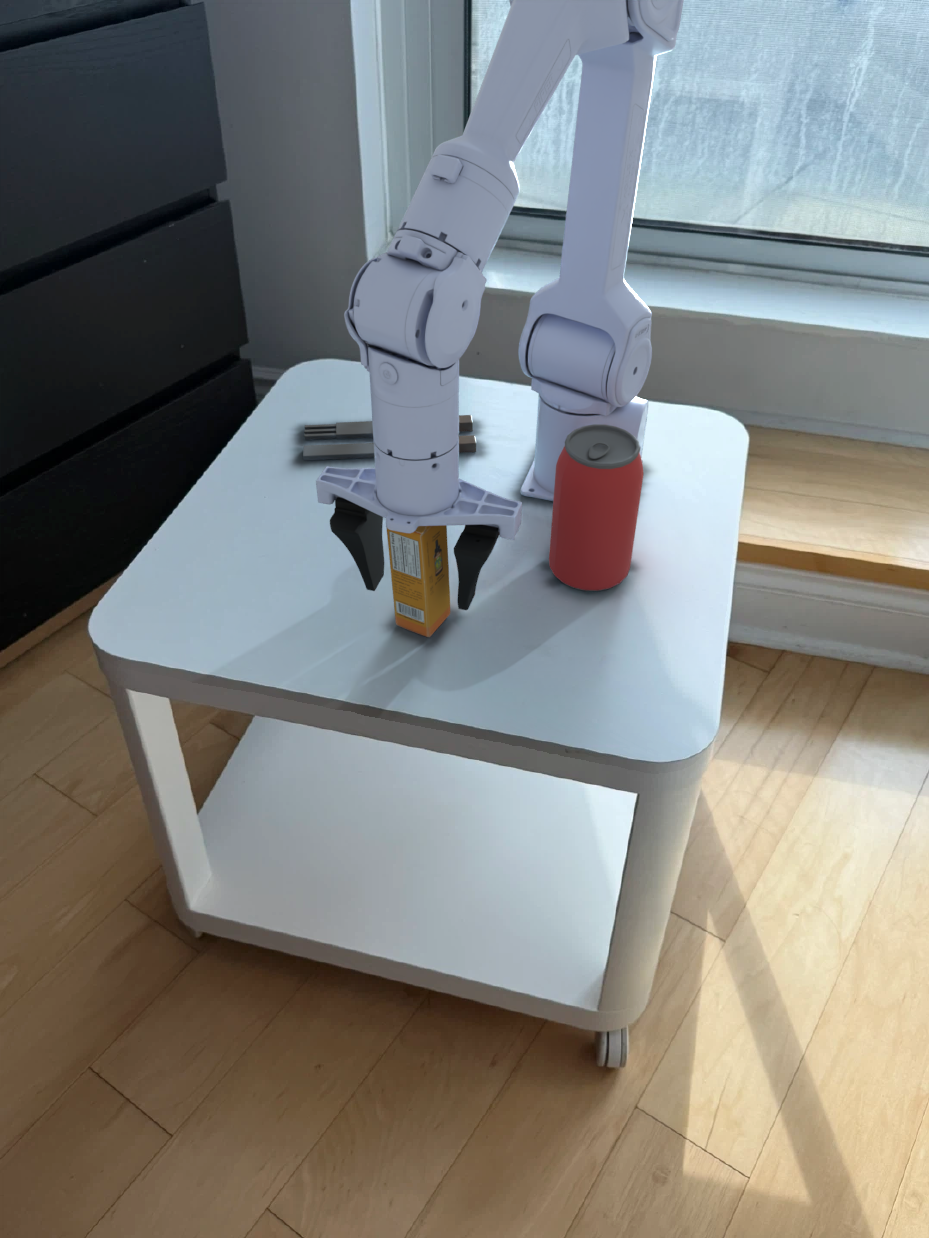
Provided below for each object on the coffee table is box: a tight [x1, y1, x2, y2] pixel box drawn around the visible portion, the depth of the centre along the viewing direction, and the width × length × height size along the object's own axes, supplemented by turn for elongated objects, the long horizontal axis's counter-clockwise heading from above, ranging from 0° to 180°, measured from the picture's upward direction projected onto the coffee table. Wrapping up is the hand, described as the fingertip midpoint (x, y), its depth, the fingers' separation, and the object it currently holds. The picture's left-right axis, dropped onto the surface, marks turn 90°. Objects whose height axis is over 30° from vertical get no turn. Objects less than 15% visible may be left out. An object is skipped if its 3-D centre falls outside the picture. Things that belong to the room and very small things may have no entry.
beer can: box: [548, 424, 645, 592], centre depth 83 cm, size 7×7×12 cm
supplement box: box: [385, 525, 451, 638], centre depth 79 cm, size 3×3×10 cm
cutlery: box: [302, 414, 477, 461], centre depth 101 cm, size 16×6×1 cm, turn 95°
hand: (420, 591), depth 80 cm, fingers open, 7 cm apart
